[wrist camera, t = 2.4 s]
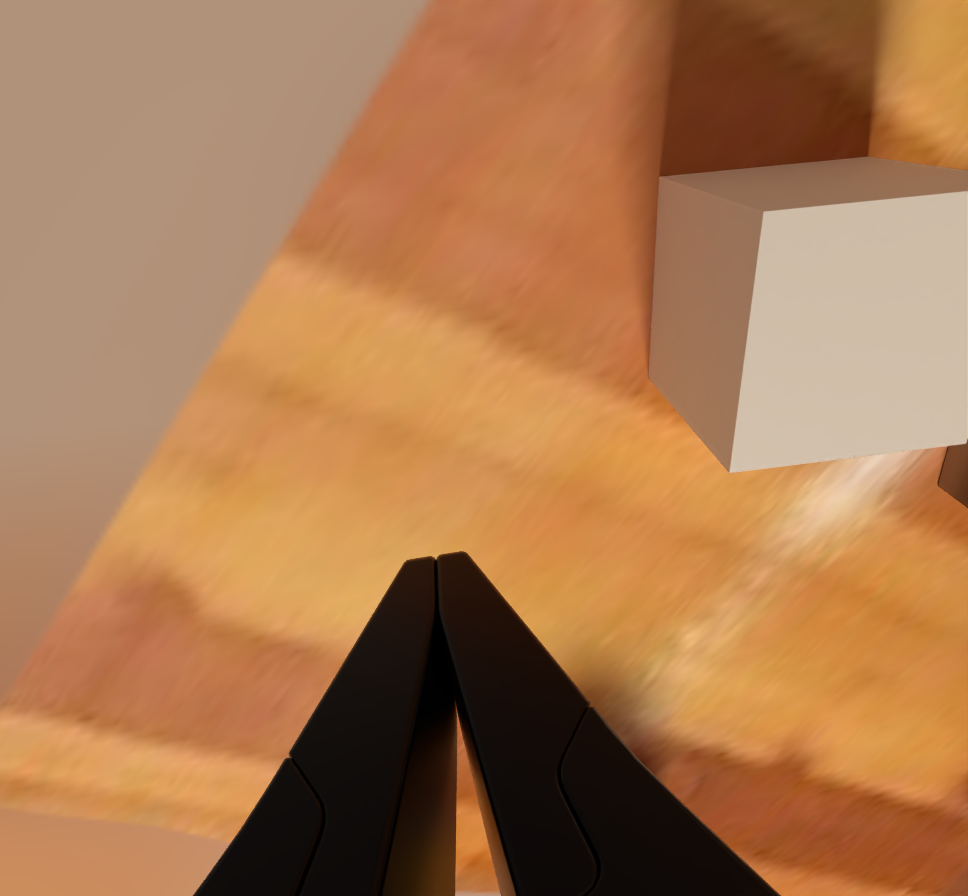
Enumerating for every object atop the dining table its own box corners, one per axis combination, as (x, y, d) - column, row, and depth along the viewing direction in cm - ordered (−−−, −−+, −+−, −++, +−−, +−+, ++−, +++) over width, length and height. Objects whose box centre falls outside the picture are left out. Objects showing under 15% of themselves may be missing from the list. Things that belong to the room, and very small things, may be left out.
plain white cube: (865, 155, 18) (1054, 181, 13) (826, 356, 21) (967, 443, 16) (656, 176, 18) (763, 211, 12) (646, 377, 21) (729, 474, 15)
